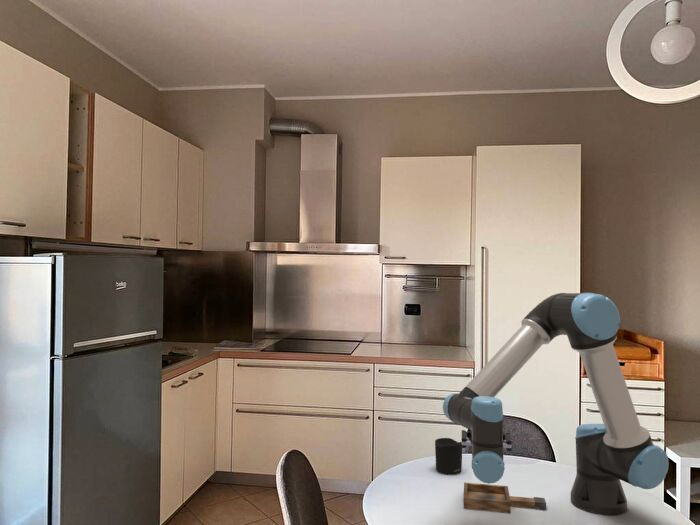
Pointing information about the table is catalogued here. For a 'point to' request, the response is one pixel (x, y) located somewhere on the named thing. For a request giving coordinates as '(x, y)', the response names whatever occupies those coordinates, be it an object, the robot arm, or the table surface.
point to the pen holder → (448, 456)
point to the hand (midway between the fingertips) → (485, 429)
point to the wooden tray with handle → (497, 498)
